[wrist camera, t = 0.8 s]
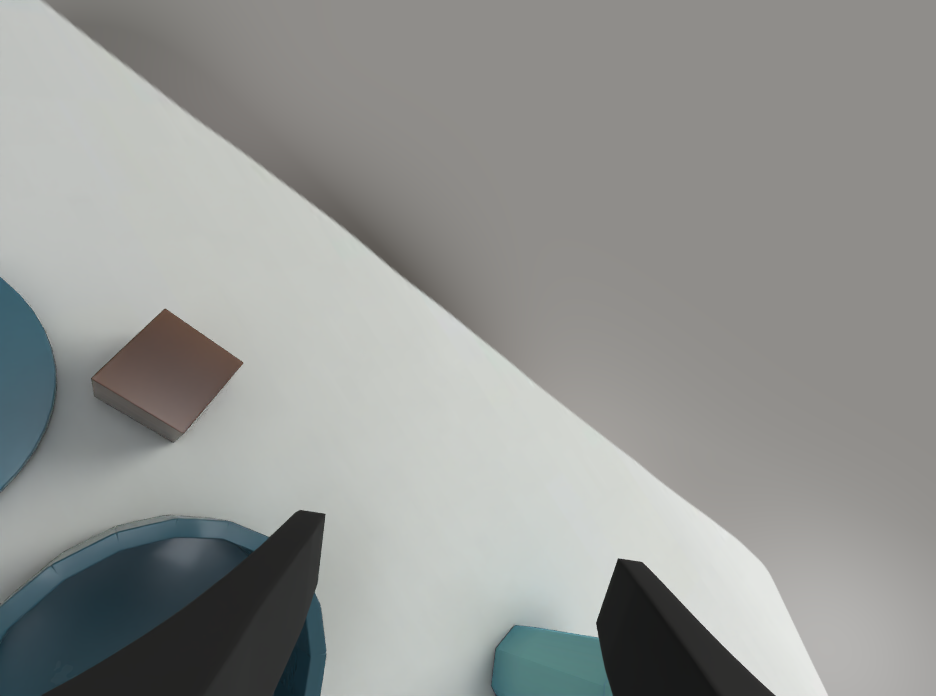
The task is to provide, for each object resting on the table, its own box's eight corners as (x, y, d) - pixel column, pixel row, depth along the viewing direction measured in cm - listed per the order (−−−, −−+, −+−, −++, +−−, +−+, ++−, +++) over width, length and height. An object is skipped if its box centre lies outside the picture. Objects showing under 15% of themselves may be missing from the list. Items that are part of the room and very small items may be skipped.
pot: (36, 930, 17) (10, 1072, 13) (-112, 638, 16) (-188, 685, 12) (326, 672, 24) (370, 708, 20) (228, 469, 24) (252, 463, 20)
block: (173, 442, 23) (183, 434, 20) (93, 395, 21) (90, 378, 18) (227, 379, 25) (244, 362, 22) (158, 333, 24) (165, 307, 21)
